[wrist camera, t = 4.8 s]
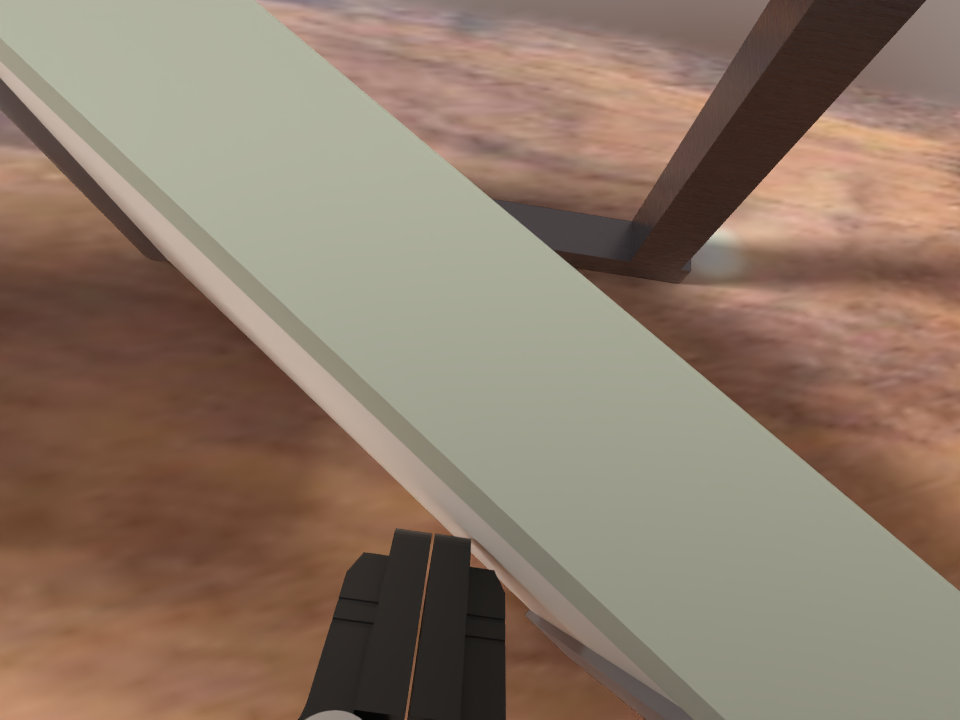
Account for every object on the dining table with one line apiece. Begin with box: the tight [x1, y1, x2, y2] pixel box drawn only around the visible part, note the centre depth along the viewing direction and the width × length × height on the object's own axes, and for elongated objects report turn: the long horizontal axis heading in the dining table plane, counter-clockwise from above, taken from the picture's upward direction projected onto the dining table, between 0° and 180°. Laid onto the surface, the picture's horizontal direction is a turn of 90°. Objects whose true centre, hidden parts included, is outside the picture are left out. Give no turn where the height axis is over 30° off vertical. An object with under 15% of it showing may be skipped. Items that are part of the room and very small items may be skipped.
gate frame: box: [492, 0, 926, 283], centre depth 13 cm, size 19×2×16 cm, turn 83°
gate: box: [0, 0, 960, 720], centre depth 11 cm, size 19×2×15 cm, turn 48°
